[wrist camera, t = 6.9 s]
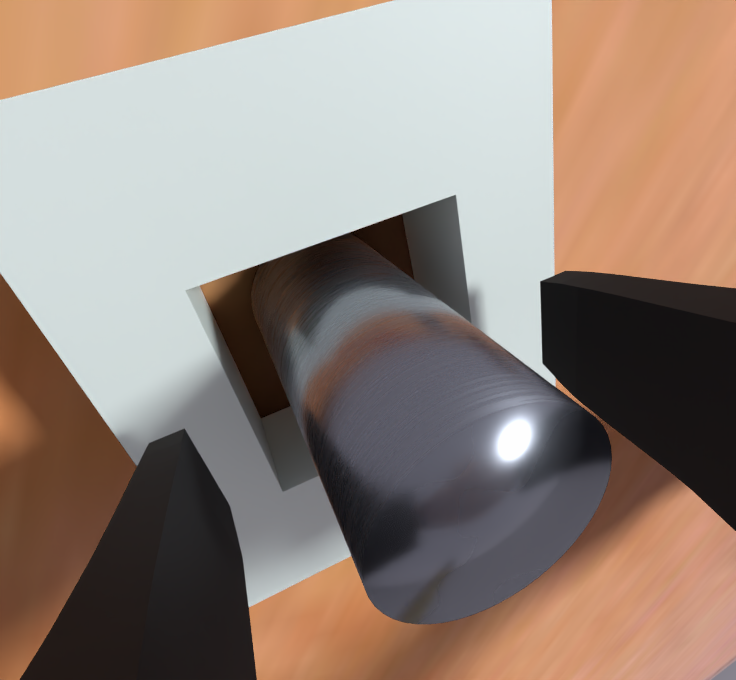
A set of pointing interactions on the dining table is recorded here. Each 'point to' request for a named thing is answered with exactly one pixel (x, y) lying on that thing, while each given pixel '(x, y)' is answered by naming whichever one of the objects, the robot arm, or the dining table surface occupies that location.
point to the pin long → (425, 434)
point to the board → (277, 220)
